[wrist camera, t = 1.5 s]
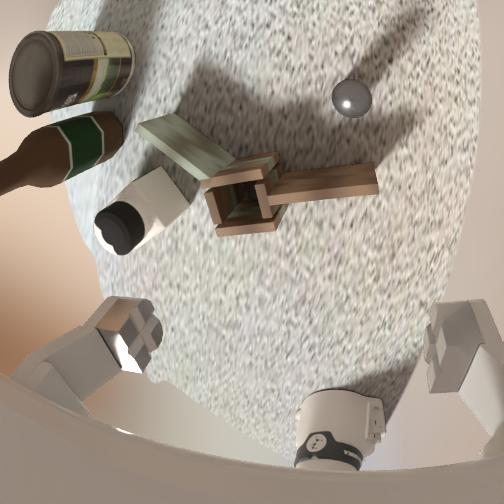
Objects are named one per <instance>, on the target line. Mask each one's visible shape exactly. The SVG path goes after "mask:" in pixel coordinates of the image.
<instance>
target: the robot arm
mask: <svg viewBox="0 0 504 504" xmlns="http://www.w3.org/2000/svg"><path fill="white" fill-rule="evenodd" d="M154 310H155V309H154V307H153V305H152V303H151V301H149V300H147V299H140V298H130V297H118V296H111V297H107V299H106V300H105V301H104V302H103V303H102V304H101V305H100V307H99V308H98V309H97V310H96V311H95V313H94V314H93V315H92V316H91V317H90V318H89V319H88V321H87V322H86V323H85V324H84V325H83V326H79V327H77V328H75V329H73V330H71V331H69V332H68V333H66V334H64V335H62V336H60V337H58V338H56V339H55V340H53V341H51V342H49V343H47V344H45V345H44V346H42V347H40V348H38V349H36V350H35V351H33V352H31V353H29V354H28V355H27V356H26V357H25V359H24V360H23V361H22V362H21V364H20V365H19V366H18V367H17V368H16V370H15V371H14V372H13V373H12V375H11V376H10V377H9V378H8V377H6V376H4V375H3V374H1V373H0V504H504V342H502V340H501V337H500V335H499V333H498V330H497V327H496V325H495V323H494V320H493V318H492V316H491V313H490V311H489V308H488V306H487V304H486V302H485V301H484V300H483V299H475V300H467V301H454V302H436V303H432V305H431V307H430V312H429V317H430V322H431V323H430V324H429V325H428V326H427V327H426V330H425V335H424V358H425V361H426V362H427V363H428V364H429V368H428V371H427V379H428V386H429V393H446V392H458V394H459V395H460V396H461V398H462V399H463V400H464V401H465V403H466V404H467V405H468V407H469V408H470V409H471V411H472V412H473V413H474V415H475V416H476V417H477V419H478V420H479V421H480V423H481V424H482V425H483V427H484V428H485V429H486V431H487V432H488V433H489V435H490V436H491V439H490V440H489V442H488V443H487V444H486V445H485V446H484V448H483V449H482V450H481V451H480V452H479V453H478V454H477V460H475V461H470V462H463V463H457V464H450V465H443V466H435V467H426V468H415V469H402V470H380V471H359V469H360V468H361V465H362V461H363V459H364V458H365V457H367V456H369V455H371V454H372V453H373V452H374V449H375V443H380V442H381V438H382V437H384V436H386V425H385V417H384V411H383V404H382V400H381V399H378V398H371V397H365V396H362V395H360V394H357V393H354V392H350V391H345V390H326V391H320V392H317V393H314V394H312V395H310V396H308V397H307V398H306V399H305V400H304V402H303V405H302V408H301V409H300V410H299V411H298V412H297V413H296V417H295V418H296V419H297V420H298V421H299V423H298V429H297V436H296V442H295V444H296V446H297V447H298V450H297V454H296V456H295V463H294V466H295V468H292V467H284V466H275V465H267V464H260V463H253V462H247V461H241V460H235V459H229V458H225V457H220V456H215V455H210V454H205V453H200V452H197V451H192V450H188V449H184V448H180V447H176V446H173V445H169V444H166V443H162V442H159V441H155V440H152V439H149V438H145V437H142V436H139V435H136V434H133V433H130V432H127V431H124V430H121V429H118V428H116V427H113V426H110V425H108V424H105V423H102V422H100V421H97V420H95V419H92V418H90V417H87V415H88V414H89V412H88V409H87V408H86V407H85V405H84V404H83V403H82V401H83V400H85V399H86V398H87V397H88V396H90V395H91V394H92V393H94V392H95V391H96V390H98V389H99V388H100V387H101V386H103V385H104V384H105V383H107V382H108V381H109V380H110V379H112V378H113V377H114V376H116V375H117V374H118V373H120V372H121V371H122V369H123V370H128V371H133V372H138V373H143V371H144V370H145V368H146V366H147V365H148V363H149V362H150V360H151V352H152V351H154V350H155V349H157V348H158V347H159V345H160V343H161V341H162V336H163V330H162V325H161V323H160V320H159V319H158V318H157V317H155V316H154V315H153V313H154Z"/></svg>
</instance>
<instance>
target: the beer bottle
mask: <svg viewBox="0 0 504 504" xmlns="http://www.w3.org/2000/svg"><path fill="white" fill-rule="evenodd" d="M122 145H123V126H122V124H121V123H120V122H119V120H118V119H117V118H116V117H115V115H114V114H113V113H112V112H104V111H96V112H91V113H86V114H83V115H79V116H76V117H72V118H69V119H66V120H62V121H59V122H56V123H53V124H50V125H47V126H44V127H41V128H39V129H37V130H35V131H33V132H31V133H30V134H29V135H28V136H27V137H26V138H25V139H24V140H23V142H22V143H21V145H20V146H19V148H18V150H17V151H16V152H15V153H13V154H12V155H10V156H9V157H8V158H6V159H4V160H2V161H0V196H1V195H3V194H5V193H7V192H10V191H12V190H14V189H16V188H19V187H22V186H26V185H31V186H35V187H40V188H42V187H52V186H55V185H57V184H60V183H62V182H64V181H66V180H68V179H70V178H72V177H74V176H76V175H78V174H80V173H82V172H84V171H86V170H88V169H90V168H92V167H94V166H96V165H98V164H100V163H102V162H105V161H106V160H108V159H110V158H112V157H113V155H114V154H115V153H116V152H117V151H118V150H119V148H120V147H121V146H122Z"/></svg>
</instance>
